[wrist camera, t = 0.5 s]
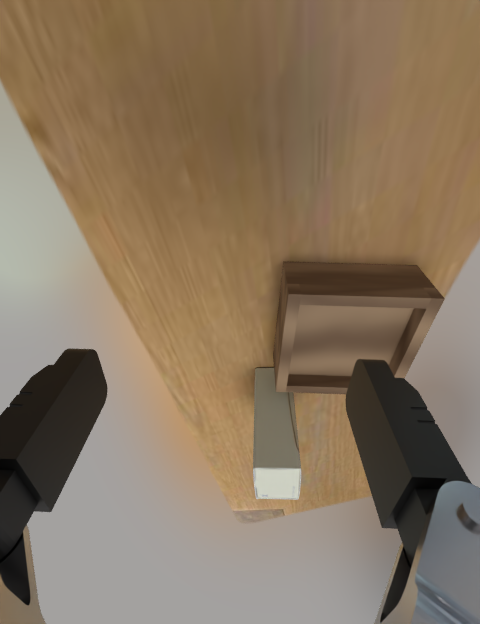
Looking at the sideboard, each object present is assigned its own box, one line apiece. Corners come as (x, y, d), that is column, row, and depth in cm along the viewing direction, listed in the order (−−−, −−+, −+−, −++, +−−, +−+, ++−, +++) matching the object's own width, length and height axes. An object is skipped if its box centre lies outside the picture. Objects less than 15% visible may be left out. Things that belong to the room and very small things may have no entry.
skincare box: (289, 398, 41) (300, 500, 31) (254, 399, 41) (255, 500, 31) (290, 365, 37) (303, 470, 27) (252, 366, 37) (252, 470, 27)
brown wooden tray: (283, 260, 29) (288, 294, 24) (415, 263, 29) (444, 298, 24) (273, 352, 36) (275, 391, 32) (378, 356, 36) (395, 396, 32)
